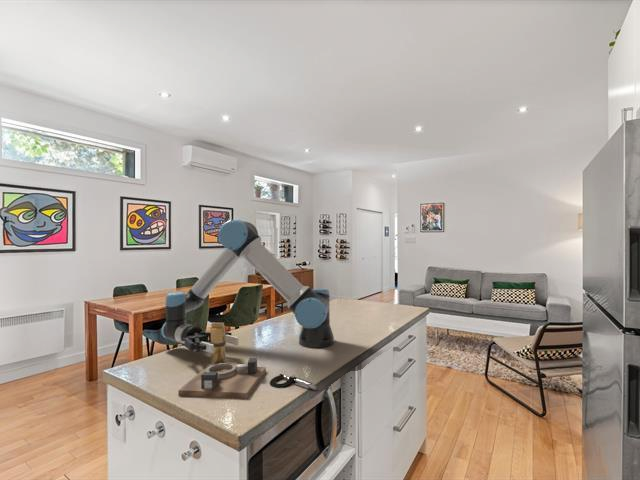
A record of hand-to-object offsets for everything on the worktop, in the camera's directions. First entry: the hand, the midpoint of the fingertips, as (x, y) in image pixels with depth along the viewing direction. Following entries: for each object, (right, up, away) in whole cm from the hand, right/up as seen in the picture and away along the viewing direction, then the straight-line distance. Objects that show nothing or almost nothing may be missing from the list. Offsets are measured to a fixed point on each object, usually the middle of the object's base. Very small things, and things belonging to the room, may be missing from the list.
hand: (225, 345), depth 114 cm
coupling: (-3, -8, +2) cm, 9 cm away
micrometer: (+24, -8, -16) cm, 30 cm away
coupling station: (+4, -7, -13) cm, 16 cm away
